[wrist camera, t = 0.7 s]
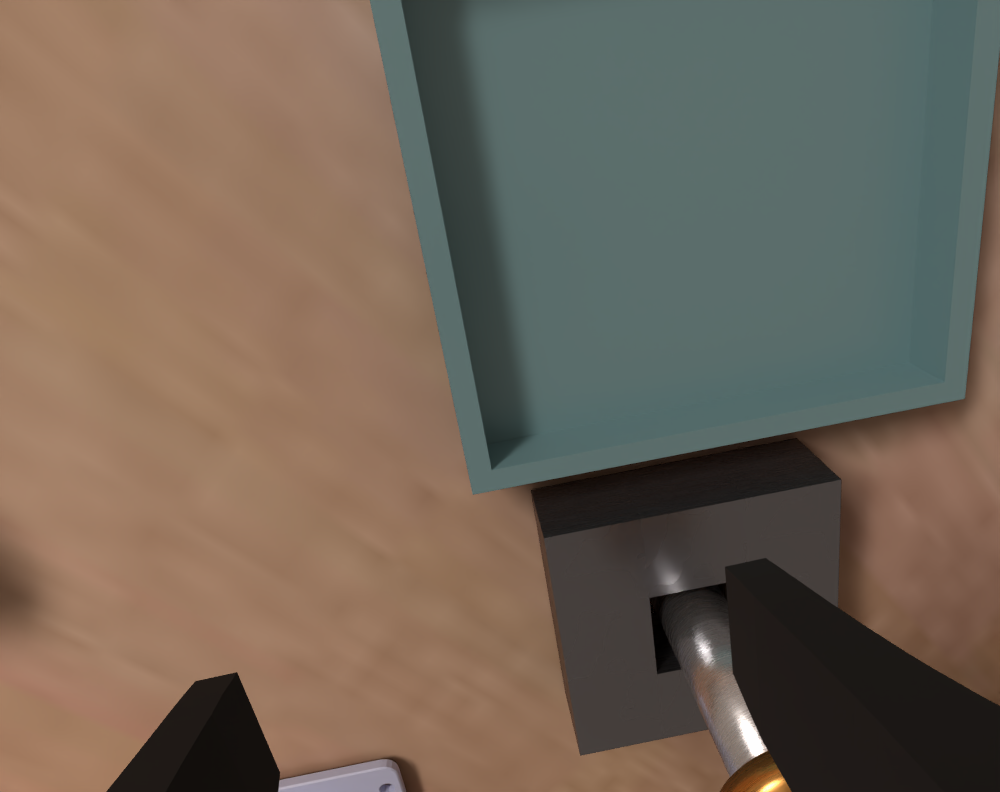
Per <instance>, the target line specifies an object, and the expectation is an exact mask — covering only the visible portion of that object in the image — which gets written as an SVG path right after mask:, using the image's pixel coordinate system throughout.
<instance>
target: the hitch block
mask: <svg viewBox="0 0 1000 792" xmlns="http://www.w3.org/2000/svg"><path fill="white" fill-rule="evenodd" d="M531 494H532V500H533V506H534V512H535V518H536V524H537V530H538V535H539V541H540V547H541V553H542V559H543V565H544V571H545V576H546V582H547V588H548V594H549V600H550V606H551V611H552V617H553V623H554V629H555V635H556V641H557V647H558V652H559V658H560V664H561V670H562V676H563V682H564V688H565V693H566V698H567V702H568V706H569V710H570V714H571V719H572V723H573V727H574V731H575V735H576V740H577V744H578V748H579V752H580V756H581V755H586V754H590V753H595V752H600V751H605V750H610V749H615V748H620V747H624V746H629V745H634V744H639V743H644V742H649V741H654V740H659V739H663V738H668V737H673V736H678V735H683V734H688V733H693V732H698V731H702V730H707V729H708V727H707V725H706V723H705V720H704V718H703V716H702V714H701V712H700V709H699V707H698V705H697V703H696V700H695V698H694V696H693V694H692V691H691V689H690V687H689V685H688V683H687V680H686V678H685V676H684V674H683V671H682V669H681V667H680V665H679V662H678V660H677V658H676V656H675V654H674V651H673V649H672V647H671V645H670V642H669V640H668V638H667V636H666V633H665V631H664V629H663V627H662V625H661V622H660V620H659V618H658V616H657V613H654V614H651V609H650V600H649V598H652V597H657V596H662V595H667V594H672V593H677V592H682V591H687V590H692V589H697V588H702V587H707V586H712V585H717V584H718V587H719V588H720V590H721V592H722V593H723V595H724V597H725V598H726V600H727V589H726V576H725V567H726V566H730V565H735V564H740V563H744V562H749V561H753V560H758V559H763V558H767V559H768V560H769V561H771V562H772V563H774V564H775V565H777V566H778V567H780V568H781V569H783V570H784V571H786V572H787V573H788V574H790V575H791V576H793V577H794V578H796V579H797V580H799V581H800V582H801V583H803V584H804V585H806V586H807V587H809V588H810V589H811V590H813V591H814V592H816V593H817V594H819V595H820V596H822V597H823V598H824V599H826V600H827V601H829V602H830V603H832V604H833V605H835V606H836V607H838V584H839V546H840V509H841V479H840V478H839V477H838V476H837V475H836V474H835V473H834V472H832V471H831V470H830V469H829V468H828V467H827V466H826V465H825V464H824V463H823V462H822V461H821V460H820V459H819V458H817V457H816V456H815V455H814V454H813V453H812V452H811V451H810V450H809V449H808V448H807V447H806V446H805V445H803V444H802V443H801V442H800V441H799V440H798V439H797V438H795V439H790V440H785V441H779V442H774V443H769V444H764V445H759V446H754V447H749V448H744V449H738V450H733V451H728V452H723V453H718V454H713V455H708V456H703V457H697V458H692V459H687V460H682V461H677V462H672V463H667V464H662V465H656V466H651V467H646V468H641V469H636V470H631V471H626V472H621V473H616V474H610V475H605V476H600V477H595V478H590V479H585V480H580V481H575V482H569V483H564V484H559V485H554V486H549V487H544V488H539V489H534V490H531Z"/></svg>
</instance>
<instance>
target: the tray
mask: <svg viewBox="0 0 1000 792" xmlns="http://www.w3.org/2000/svg"><path fill="white" fill-rule="evenodd" d="M370 3H371V8H372V13H373V18H374V23H375V27H376V32H377V37H378V42H379V47H380V51H381V56H382V61H383V66H384V71H385V75H386V80H387V85H388V90H389V95H390V99H391V104H392V109H393V114H394V119H395V123H396V128H397V133H398V138H399V143H400V147H401V152H402V157H403V162H404V167H405V171H406V176H407V181H408V186H409V191H410V195H411V200H412V205H413V210H414V215H415V219H416V224H417V229H418V234H419V239H420V243H421V248H422V253H423V258H424V263H425V267H426V272H427V277H428V282H429V287H430V291H431V296H432V301H433V306H434V311H435V315H436V320H437V325H438V330H439V335H440V339H441V344H442V349H443V354H444V359H445V363H446V368H447V373H448V378H449V383H450V387H451V392H452V397H453V402H454V407H455V411H456V416H457V421H458V426H459V431H460V435H461V440H462V445H463V450H464V455H465V459H466V464H467V469H468V474H469V479H470V483H471V488H472V493H473V495H474V494H479V493H484V492H489V491H494V490H499V489H504V488H510V487H515V486H520V485H525V484H530V483H535V482H540V481H545V480H551V479H556V478H561V477H566V476H571V475H576V474H581V473H586V472H592V471H597V470H602V469H607V468H612V467H617V466H622V465H628V464H633V463H638V462H643V461H648V460H653V459H658V458H663V457H669V456H674V455H679V454H684V453H689V452H694V451H699V450H704V449H710V448H715V447H720V446H725V445H730V444H735V443H740V442H746V441H751V440H756V439H761V438H766V437H771V436H776V435H781V434H787V433H792V432H797V431H802V430H807V429H812V428H817V427H822V426H828V425H833V424H838V423H843V422H848V421H853V420H858V419H863V418H869V417H874V416H879V415H884V414H889V413H894V412H899V411H905V410H910V409H915V408H920V407H925V406H930V405H935V404H940V403H946V402H951V401H956V400H961V399H965V392H966V382H967V372H968V362H969V352H970V342H971V332H972V322H973V312H974V302H975V292H976V282H977V272H978V262H979V252H980V242H981V232H982V222H983V212H984V202H985V192H986V182H987V172H988V162H989V152H990V142H991V132H992V122H993V112H994V102H995V92H996V82H997V72H998V62H999V52H1000V0H370Z"/></svg>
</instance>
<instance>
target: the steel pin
mask: <svg viewBox="0 0 1000 792" xmlns="http://www.w3.org/2000/svg"><path fill="white" fill-rule="evenodd" d="M650 600H651V602H652V604H653V607H654V609H655V611H656V613H657V616H658V618H659V620H660V622H661V625H662V627H663V629H664V631H665V633H666V636H667V638H668V640H669V642H670V645H671V647H672V649H673V651H674V654H675V656H676V658H677V660H678V662H679V665H680V667H681V669H682V671H683V674H684V676H685V678H686V680H687V683H688V685H689V687H690V689H691V691H692V694H693V696H694V698H695V700H696V703H697V705H698V707H699V709H700V712H701V714H702V716H703V718H704V720H705V723H706V725H707V727H708V729H709V732H710V734H711V736H712V738H713V741H714V743H715V745H716V747H717V749H718V752H719V754H720V756H721V758H722V761H723V763H724V765H725V767H726V769H727V772H728V774H729V776H730V778H729V779H728V780H727V782H726V783H725V784H724V786H723V787H722V789H721V791H720V792H791V790H790V788H789V786H788V785H787V783H786V781H785V779H784V778H783V776H782V774H781V772H780V771H779V769H778V767H777V765H776V764H775V762H774V760H773V758H772V757H771V755H770V753H769V751H768V750H767V748H766V746H765V744H764V743H763V741H762V739H761V737H760V734H759V732H758V730H757V728H756V726H755V723H754V721H753V719H752V717H751V714H750V712H749V710H748V708H747V705H746V703H745V701H744V698H743V696H742V694H741V691H740V689H739V687H738V684H737V682H736V680H735V677H734V675H733V670H732V657H731V643H730V630H729V616H728V603H727V600H726V598H725V597H724V595H723V593H722V592H721V590H720V588H719V587H718V585H712V586H707V587H702V588H697V589H692V590H687V591H682V592H677V593H672V594H667V595H662V596H657V597H652V598H650Z"/></svg>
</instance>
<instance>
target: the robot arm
mask: <svg viewBox="0 0 1000 792" xmlns="http://www.w3.org/2000/svg"><path fill="white" fill-rule="evenodd" d="M725 576H726V589H727V603H728V616H729V630H730V643H731V657H732V670H733V675H734V677H735V680H736V682H737V684H738V687H739V689H740V691H741V694H742V696H743V698H744V701H745V703H746V705H747V708H748V710H749V712H750V714H751V717H752V719H753V721H754V723H755V726H756V728H757V730H758V732H759V734H760V737H761V739H762V741H763V743H764V744H765V746H766V748H767V750H768V751H769V753H770V755H771V757H772V758H773V760H774V762H775V764H776V765H777V767H778V769H779V771H780V772H781V774H782V776H783V778H784V779H785V781H786V783H787V785H788V786H789V788H790V790H791V792H1000V706H999V705H997V704H995V703H993V702H991V701H989V700H988V699H986V698H984V697H982V696H980V695H978V694H977V693H975V692H973V691H971V690H969V689H968V688H966V687H964V686H963V685H961V684H959V683H957V682H956V681H954V680H952V679H950V678H949V677H947V676H945V675H943V674H942V673H940V672H938V671H937V670H935V669H933V668H931V667H930V666H928V665H926V664H924V663H923V662H921V661H920V660H918V659H916V658H915V657H913V656H911V655H910V654H908V653H906V652H905V651H903V650H902V649H900V648H899V647H897V646H896V645H894V644H892V643H891V642H889V641H888V640H886V639H885V638H883V637H881V636H880V635H878V634H877V633H875V632H874V631H872V630H871V629H869V628H867V627H866V626H864V625H863V624H861V623H860V622H858V621H857V620H855V619H854V618H852V617H851V616H849V615H848V614H846V613H845V612H843V611H842V610H841V609H839V608H838V607H836V606H835V605H833V604H832V603H830V602H829V601H827V600H826V599H824V598H823V597H822V596H820V595H819V594H817V593H816V592H814V591H813V590H811V589H810V588H809V587H807V586H806V585H804V584H803V583H801V582H800V581H799V580H797V579H796V578H794V577H793V576H791V575H790V574H788V573H787V572H786V571H784V570H783V569H781V568H780V567H778V566H777V565H775V564H774V563H772V562H771V561H769V560H768V559H767V558H763V559H758V560H753V561H749V562H744V563H740V564H735V565H730V566H726V567H725ZM279 778H280V772H279V769H278V767H277V765H276V762H275V760H274V758H273V755H272V753H271V751H270V748H269V746H268V744H267V741H266V739H265V737H264V734H263V732H262V730H261V727H260V725H259V723H258V720H257V718H256V716H255V713H254V711H253V709H252V706H251V704H250V702H249V699H248V697H247V695H246V692H245V690H244V687H243V685H242V683H241V680H240V678H239V676H238V673H237V672H236V673H232V674H227V675H222V676H218V677H213V678H209V679H204V680H199V681H195V682H194V684H193V685H192V686H191V687H190V688H189V689H188V691H187V692H186V693H185V694H184V695H183V697H182V698H181V699H180V700H179V701H178V703H177V704H176V705H175V706H174V708H173V709H172V710H171V711H170V713H169V714H168V715H167V716H166V718H165V719H164V720H163V722H162V723H161V724H160V725H159V727H158V728H157V729H156V730H155V732H154V733H153V734H152V735H151V737H150V738H149V739H148V741H147V742H146V743H145V744H144V746H143V747H142V748H141V749H140V751H139V752H138V753H137V754H136V756H135V757H134V758H133V759H132V761H131V762H130V763H129V764H128V766H127V767H126V768H125V769H124V771H123V772H122V773H121V774H120V776H119V777H118V778H117V779H116V780H115V782H114V783H113V784H112V785H111V787H110V788H109V789H108V790H107V792H406V789H405V785H404V782H403V779H402V776H401V773H400V769H399V767H398V765H397V763H395V762H394V761H392V760H389V759H380V760H375V761H371V762H366V763H361V764H356V765H351V766H346V767H341V768H336V769H331V770H326V771H322V772H317V773H312V774H307V775H302V776H297V777H292V778H287V779H282V780H279Z"/></svg>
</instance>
